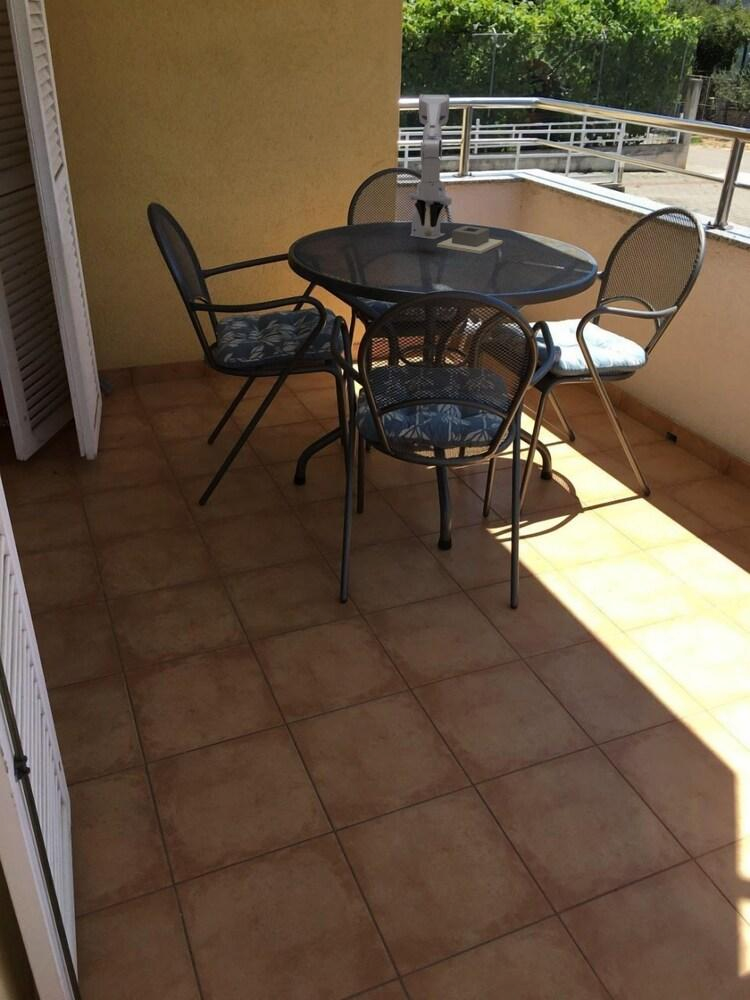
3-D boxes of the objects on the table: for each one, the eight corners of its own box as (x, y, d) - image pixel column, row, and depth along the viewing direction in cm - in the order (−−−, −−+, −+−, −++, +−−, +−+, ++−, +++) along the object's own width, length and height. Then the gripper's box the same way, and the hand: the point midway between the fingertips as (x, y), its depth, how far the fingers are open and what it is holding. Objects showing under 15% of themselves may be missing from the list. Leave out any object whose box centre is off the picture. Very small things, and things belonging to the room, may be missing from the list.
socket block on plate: (437, 246, 273) (437, 231, 271) (460, 237, 285) (461, 222, 282) (480, 254, 266) (481, 238, 263) (502, 243, 277) (503, 228, 275)
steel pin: (422, 235, 266) (423, 203, 261) (426, 233, 268) (427, 201, 263) (430, 236, 265) (431, 204, 260) (434, 234, 267) (436, 202, 262)
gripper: (403, 180, 258) (402, 225, 266) (444, 185, 252) (442, 231, 259) (415, 177, 263) (414, 221, 271) (455, 182, 257) (453, 226, 264)
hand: (428, 225), depth 265 cm, fingers closed on steel pin, 3 cm apart
